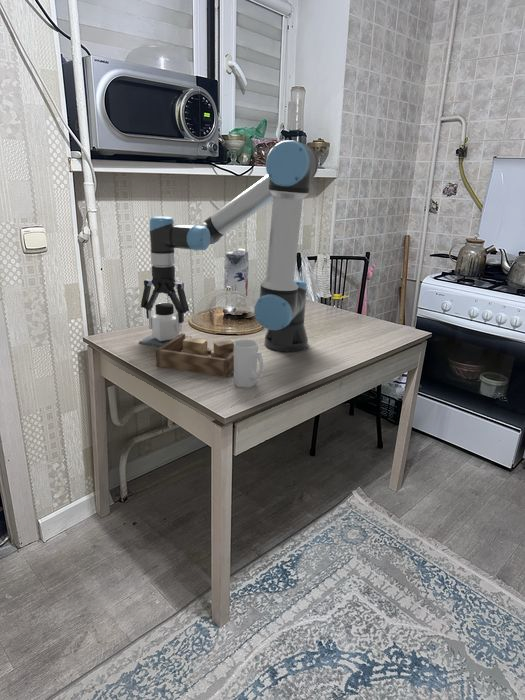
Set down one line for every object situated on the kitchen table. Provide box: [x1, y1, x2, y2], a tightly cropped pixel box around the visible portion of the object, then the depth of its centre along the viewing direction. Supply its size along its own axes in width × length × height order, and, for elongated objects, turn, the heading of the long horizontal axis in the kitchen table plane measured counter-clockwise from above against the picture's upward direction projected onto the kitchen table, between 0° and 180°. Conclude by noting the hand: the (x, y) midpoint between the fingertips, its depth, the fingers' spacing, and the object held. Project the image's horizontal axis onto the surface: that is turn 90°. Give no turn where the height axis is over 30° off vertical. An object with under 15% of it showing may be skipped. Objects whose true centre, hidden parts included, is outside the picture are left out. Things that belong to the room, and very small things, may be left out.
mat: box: [138, 333, 193, 348], centre depth 166 cm, size 14×12×1 cm
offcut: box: [182, 337, 208, 356], centre depth 154 cm, size 7×4×5 cm, turn 73°
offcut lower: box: [210, 348, 232, 359], centre depth 151 cm, size 8×4×3 cm, turn 83°
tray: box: [155, 333, 234, 378], centre depth 148 cm, size 23×17×5 cm
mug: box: [233, 339, 264, 389], centre depth 132 cm, size 10×7×12 cm, turn 46°
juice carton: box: [223, 248, 249, 297], centre depth 197 cm, size 9×10×27 cm
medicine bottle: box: [151, 301, 180, 341], centre depth 163 cm, size 7×7×12 cm
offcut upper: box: [213, 339, 235, 355], centre depth 150 cm, size 6×3×3 cm, turn 124°
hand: (165, 329), depth 165 cm, fingers closed on medicine bottle, 10 cm apart
